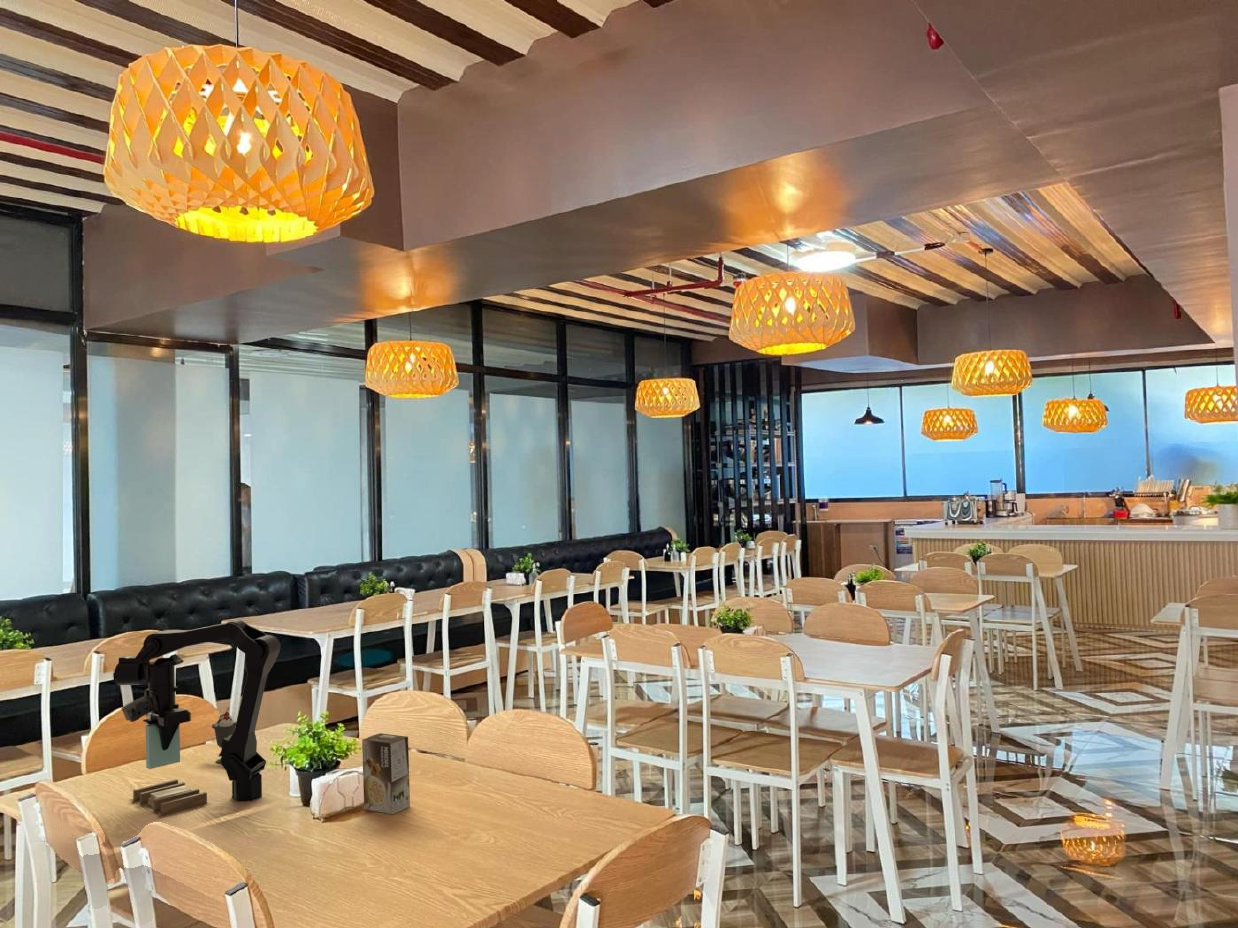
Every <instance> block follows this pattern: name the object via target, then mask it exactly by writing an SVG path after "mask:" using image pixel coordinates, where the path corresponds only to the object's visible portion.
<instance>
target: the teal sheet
mask: <svg viewBox="0 0 1238 928" xmlns="http://www.w3.org/2000/svg"><path fill="white" fill-rule="evenodd" d="M180 733H181V732H180V726H179V727H178V729H177V730H176V732H175V735H174V737H173V739H172V741H171V743H170V745H169V748H168V749H167V750H162V745H161V740H160V734H159V729H158V728H156V727H155V726H154V725H153V724H150V725H148V724H146V725H145V767H146V769H148V770H153V769H157V768H161V767H164V766H168V765H173V764H177V763H181V741H180V740H181V738H180Z"/></svg>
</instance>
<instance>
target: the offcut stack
mask: <svg viewBox="0 0 1238 928" xmlns="http://www.w3.org/2000/svg"><path fill="white" fill-rule="evenodd" d="M190 790H192V789H191V788H189V787H188V786H186V784H185V785H184V786H180V787H176V788H172V789H168V790H163V791H159V792H155V793H151V798H149V801H148V805H150V806H152V807H154V801H153V800H156V799H160V798H163V797H167V796H171V795H175V794H179V793H182V792H186V791H190Z"/></svg>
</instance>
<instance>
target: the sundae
mask: <svg viewBox="0 0 1238 928" xmlns="http://www.w3.org/2000/svg"><path fill="white" fill-rule="evenodd" d="M229 709H230V706H228V707H227V710H226V711H225V712H224V713H223V714H221V715H219V718H218V720H217V721H216V723H213V724H212V725H211V728H212V729H213V730H214V734H215V741H216V745H217V746H218V747H219V748H221V749H222V742H223V739H225V738H227V737H228V736H230V735H232V734H233V733H234V730H235V726H236V721H234V719H233V718H232V715H230V712H228V710H229ZM220 761H221V758H219V759H217V760H215V763H216V764H221V762H220Z"/></svg>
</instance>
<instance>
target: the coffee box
mask: <svg viewBox="0 0 1238 928" xmlns="http://www.w3.org/2000/svg"><path fill="white" fill-rule="evenodd" d="M361 744H362V745H361V746H362V749H361V750H362V780H363V781H362V783H363V786H362V787H363V809H364V810H367V811H372V812H378V813H384V814H389V815H395V814H396V813H398V812H399V813H400V812H401V811H403V810H405V809H407V808H409V807H410V806H411V792H410V758H409V736H405V735H398V734H388V733H381V732H380V733H376V734H373V735H371V736H368V737H366V738H363V739H362V740H361Z"/></svg>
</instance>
